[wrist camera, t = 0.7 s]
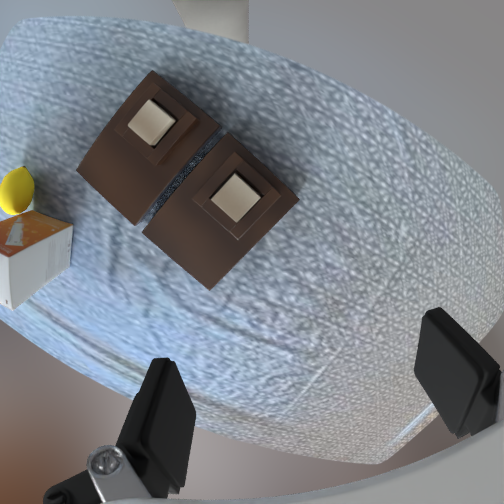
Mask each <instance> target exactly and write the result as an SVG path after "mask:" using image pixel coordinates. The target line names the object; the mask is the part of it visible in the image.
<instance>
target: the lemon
mask: <svg viewBox="0 0 504 504" xmlns="http://www.w3.org/2000/svg"><path fill="white" fill-rule="evenodd" d="M34 189H35V188H34V180H33V178H32V176H31V175H30V173H29V172H28V170H27V169H26V167H25V166H23V167H20V168H17V169H15V170H13V171H11V172H9V173H8V174H7V175H6V176H5V177H4V179H3V181H2V183H1V185H0V206H1V208H2V209H3V210H4V211H5V212H6V213H8V214H11V215H16V214H20V213H22V212H23V211H25V210H26V209H27V208H28V206H29V205H30V203H31V201H32V197H33V193H34Z"/></svg>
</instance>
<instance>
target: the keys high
mask: <svg viewBox="0 0 504 504" xmlns="http://www.w3.org/2000/svg"><path fill="white" fill-rule="evenodd" d="M235 173H236V174H238V175H239V176H240V177H241V178H242V179H243V180H244V181H245V182H246V183H247V184H249V185H250V186H251V187H252V188H253V189H254V190H255V191H256V192H257V193H258V194H259V195H260V197H261V198H260V199H259V200H258V201H257V202H256V203H255V204H254V205H253V206H252V207H251V208H250V209H249V210H248V211H247V213H246V214H245V215H244V216H243V217H242V218H241V219H240V220H239V221H238V222H235V221H234V220H233V219H232V218H231V217H230V216H229V215H228V214H227V213H225V212H224V211H223V210H222V209H221V208H220V207H219V206H218V205H217V204H215V203H214V202H213V201H212V200H211V199H212V198H213V197H214V196H215V194H216V193H217V192H218V191H219V190H220V189H221V188H222V187H223V186H224V185H225V184H226V182H227V181H228V180H229V179H230V178H231V177H232V176H233V175H234V174H235ZM299 200H300V199H299V198H298V197H297V196H296V195H295V194H294V193H293V192H292V191H291V190H290V189H289V188H288V187H287V186H286V185H284V184H283V183H282V182H281V181H280V180H279V179H278V178H277V177H276V176H275V175H274V174H273V173H272V172H271V171H270V170H269V169H268V168H267V167H266V166H265V165H263V164H262V163H261V162H260V161H259V160H258V159H257V158H256V157H255V156H254V155H253V154H252V153H250V152H249V151H248V150H247V149H246V148H245V147H244V146H243V145H242V144H241V143H239V142H238V141H237V140H236V139H235V138H234V137H233V136H232V135H230V134H229V133H228V132H227V133H226V134H225V136H224V137H223V138H222V139H221V140H220V141H219V142H218V143H217V144H216V145H215V146H214V147H213V148H212V149H211V150H210V152H209V153H208V154H207V155H206V156H205V157H204V158H203V159H202V160H201V161H200V163H199V164H198V165H197V166H196V167H195V168H194V169H193V170H192V172H191V173H190V174H189V175H188V176H187V177H186V179H185V180H184V181H183V182H182V183H181V184H180V186H179V187H178V188H177V189H176V190H175V191H174V193H173V194H172V195H171V196H170V197H169V199H168V200H167V201H166V202H165V203H164V205H163V206H162V207H161V208H160V210H159V211H158V212H157V213H156V215H155V216H154V217H153V218H152V220H151V221H150V222H149V223H148V225H147V226H146V227H145V229H144V230H143V231H142V233H143V234H144V235H145V236H146V237H147V238H148V239H150V240H151V241H152V242H153V243H154V244H155V245H156V246H158V247H159V248H160V249H161V250H162V251H163V252H164V253H166V254H167V255H168V256H169V257H170V258H171V259H172V260H174V261H175V262H176V263H177V264H178V265H179V266H181V267H182V268H183V269H184V270H185V271H187V272H188V273H189V274H190V275H191V276H192V277H194V278H195V279H196V280H197V281H198V282H200V283H201V284H202V285H203V286H204V287H206V288H207V289H208V290H209V291H210V290H211V289H212V288H213V287H214V286H215V285H216V284H217V283H218V282H219V281H220V280H221V279H222V278H223V277H224V276H225V275H226V274H227V273H228V272H229V271H230V270H231V269H232V268H233V267H234V266H235V265H236V264H237V263H238V262H239V261H240V260H241V259H242V258H243V257H244V256H245V255H246V254H247V253H248V252H249V251H250V249H251V248H252V247H253V246H254V245H255V244H256V243H257V242H258V241H259V240H260V239H261V238H262V237H263V236H264V235H265V234H266V233H267V232H268V231H269V230H270V229H271V228H272V227H273V226H274V225H275V224H276V223H277V222H278V221H279V220H280V219H281V218H282V217H283V216H284V215H285V214H286V213H287V212H288V211H289V210H290V209H291V208H292V207H293V206H294V205H295V204H296V203H297V202H298V201H299Z"/></svg>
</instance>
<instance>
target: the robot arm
mask: <svg viewBox="0 0 504 504" xmlns="http://www.w3.org/2000/svg"><path fill="white" fill-rule="evenodd" d="M499 368H500V366H499V364H498V363H497V362H496V361H494V359H493V358H492V357H491V356H490V355H489V354H488V353H487V352H486V351H485V350H484V349H483V348H482V347H481V346H480V345H479V344H478V343H477V342H476V341H475V340H474V339H473V338H472V337H471V336H470V335H469V334H468V333H467V332H466V331H465V330H464V329H463V328H462V327H461V326H460V325H459V324H458V323H457V322H456V321H455V320H454V319H453V318H452V317H451V316H450V315H449V314H447V313H446V312H445V311H444V310H443V309H442V308H441V307H438V308H435V309H431V310H428V311H426V313H425V315H424V316H423V317H422V323H421V330H420V337H419V344H418V350H417V355H416V361H415V366H414V373H415V376H416V378H417V379H418V381H419V382H420V384H421V385H422V387H423V388H424V390H425V392H426V393H427V395H428V396H429V398H430V399H431V401H432V403H433V404H434V406H435V407H436V409H437V411H438V412H439V414H440V416H441V417H442V419H443V421H444V422H445V424H446V426H447V427H448V429H449V431H450V432H451V433H455V435H456V436H457V438H458V439H459V438H460V437H463V436H464V435H466V434H468V433H469V432H470V434H471V437H469V438H467V439H465V440H463V441H461V442H459V443H457V444H455V445H453V446H451V447H449V448H447V449H445V450H443V451H440V452H438V453H436V454H434V455H432V456H429V457H427V458H424V459H422V460H420V461H417V462H414V463H412V464H409V465H407V466H404V467H401V468H398V469H395V470H392V471H389V472H386V473H383V474H380V475H377V476H374V477H370V478H367V479H363V480H359V481H356V482H352V483H348V484H344V485H340V486H335V487H331V488H326V489H321V490H316V491H310V492H304V493H298V494H291V495H283V496H275V497H265V498H253V499H234V500H187V499H167V497H168V494H179V491H180V487H184V485H185V480H186V474H187V467H188V461H189V455H190V449H191V443H192V437H193V432H194V426H195V420H196V411H195V408H194V405H193V403H192V401H191V399H190V396H189V394H188V392H187V389H186V387H185V385H184V382H183V380H182V378H181V375H180V373H179V370H178V368H177V366H176V363H175V362H174V361H171V360H170V359H169V358H154V359H153V360H152V362H151V364H150V366H149V369H148V371H147V374H146V376H145V378H144V381H143V383H142V386H141V388H140V391H139V392H138V393H137V394H136V396H135V397H134V400H133V403H132V405H131V407H130V410H129V413H128V415H127V417H126V420H125V423H124V425H123V427H122V430H121V433H120V435H119V438H118V441H117V443H116V446H112V445H104V446H101V447H99V448H97V449H95V450H94V451H93V452H92V453H91V454H90V455H89V457H88V459H87V470H85V471H83V472H81V473H79V474H77V475H75V476H73V477H71V478H69V479H67V480H65V481H63V482H61V483H59V484H57V485H54V486H52V487H51V488H49V489H48V490H47V491H46V493H45V495H44V498H43V504H504V370H503V372H501V371H500V370H499Z"/></svg>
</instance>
